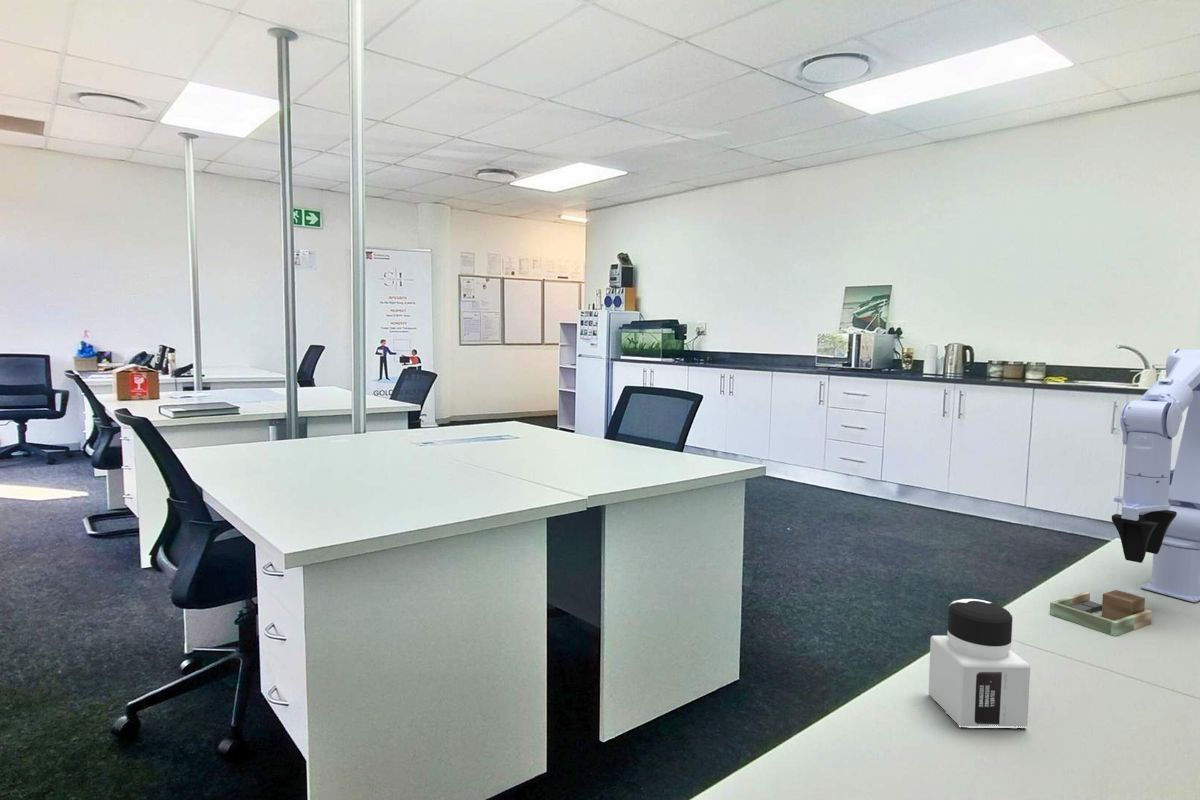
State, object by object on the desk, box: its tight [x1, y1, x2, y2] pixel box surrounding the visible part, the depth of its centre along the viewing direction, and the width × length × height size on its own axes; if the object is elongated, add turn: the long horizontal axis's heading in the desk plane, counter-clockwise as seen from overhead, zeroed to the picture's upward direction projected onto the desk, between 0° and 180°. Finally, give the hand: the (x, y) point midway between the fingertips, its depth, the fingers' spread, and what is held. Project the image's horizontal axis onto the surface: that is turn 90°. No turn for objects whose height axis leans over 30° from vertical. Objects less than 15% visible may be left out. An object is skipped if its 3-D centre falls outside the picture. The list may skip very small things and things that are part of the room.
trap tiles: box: [1071, 600, 1102, 614], centre depth 110 cm, size 6×2×1 cm, turn 117°
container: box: [928, 598, 1031, 727], centre depth 78 cm, size 8×8×13 cm
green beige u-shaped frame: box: [1049, 591, 1153, 637], centre depth 106 cm, size 10×9×2 cm
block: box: [1101, 589, 1146, 621], centre depth 106 cm, size 4×4×4 cm
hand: (1142, 556), depth 108 cm, fingers open, 7 cm apart
